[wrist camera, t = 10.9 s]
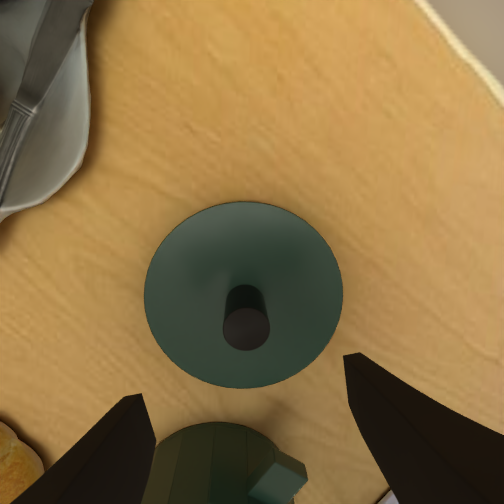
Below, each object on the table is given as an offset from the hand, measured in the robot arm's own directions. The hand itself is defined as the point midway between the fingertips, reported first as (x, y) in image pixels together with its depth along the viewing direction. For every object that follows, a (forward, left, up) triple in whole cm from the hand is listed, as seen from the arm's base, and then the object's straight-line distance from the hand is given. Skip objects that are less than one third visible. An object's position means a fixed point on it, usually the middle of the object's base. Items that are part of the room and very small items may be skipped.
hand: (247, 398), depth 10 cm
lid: (0, 0, -8) cm, 9 cm away
